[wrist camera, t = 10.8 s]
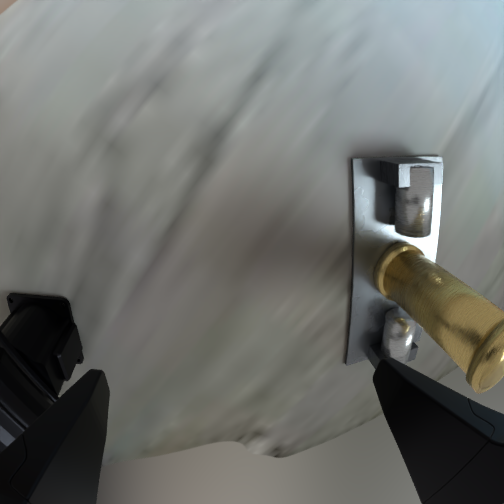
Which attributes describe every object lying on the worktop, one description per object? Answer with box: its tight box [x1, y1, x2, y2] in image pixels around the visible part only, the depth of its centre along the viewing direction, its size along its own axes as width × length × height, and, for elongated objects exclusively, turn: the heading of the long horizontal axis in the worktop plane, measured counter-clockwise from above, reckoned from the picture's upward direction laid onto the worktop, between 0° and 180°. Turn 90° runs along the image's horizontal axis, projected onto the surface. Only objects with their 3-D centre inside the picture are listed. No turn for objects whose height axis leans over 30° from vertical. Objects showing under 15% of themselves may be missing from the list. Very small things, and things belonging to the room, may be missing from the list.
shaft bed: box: [345, 156, 443, 369], centre depth 22 cm, size 19×9×3 cm, turn 6°
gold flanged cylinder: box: [374, 242, 504, 394], centre depth 18 cm, size 5×5×13 cm
